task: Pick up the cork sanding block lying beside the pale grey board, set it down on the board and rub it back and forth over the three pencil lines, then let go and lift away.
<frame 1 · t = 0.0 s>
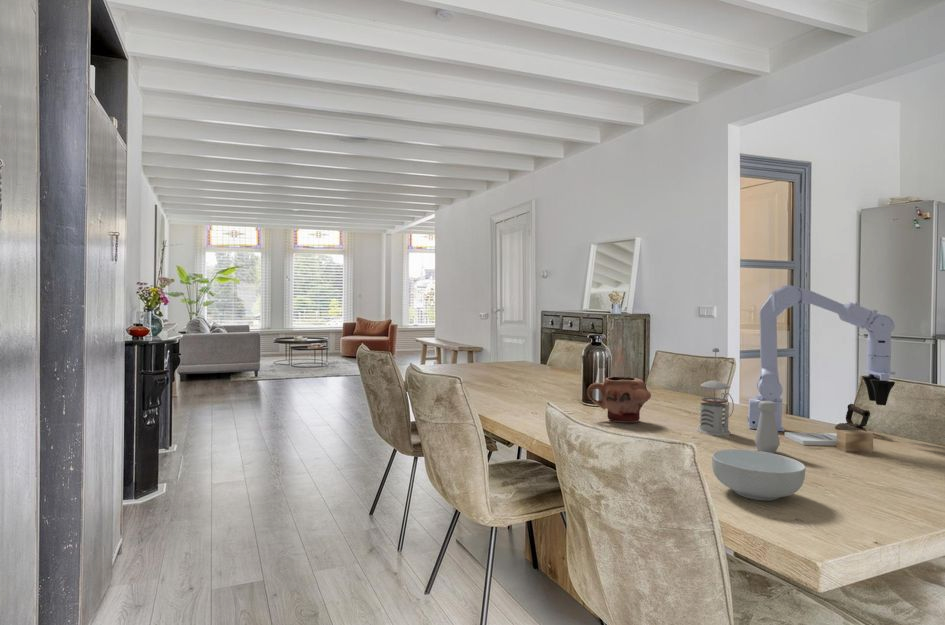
hand: (877, 402, 169), 10 cm above the table, tool pointing down, fingers open, 7 cm apart
cereal bowl: (756, 495, 117), on the table
board: (826, 441, 163), on the table
clothes iron: (856, 433, 175), on the table
salt shaker: (766, 452, 151), on the table
brown clay mug: (618, 421, 188), on the table
french press: (715, 433, 172), on the table
sanding block: (854, 450, 154), on the table
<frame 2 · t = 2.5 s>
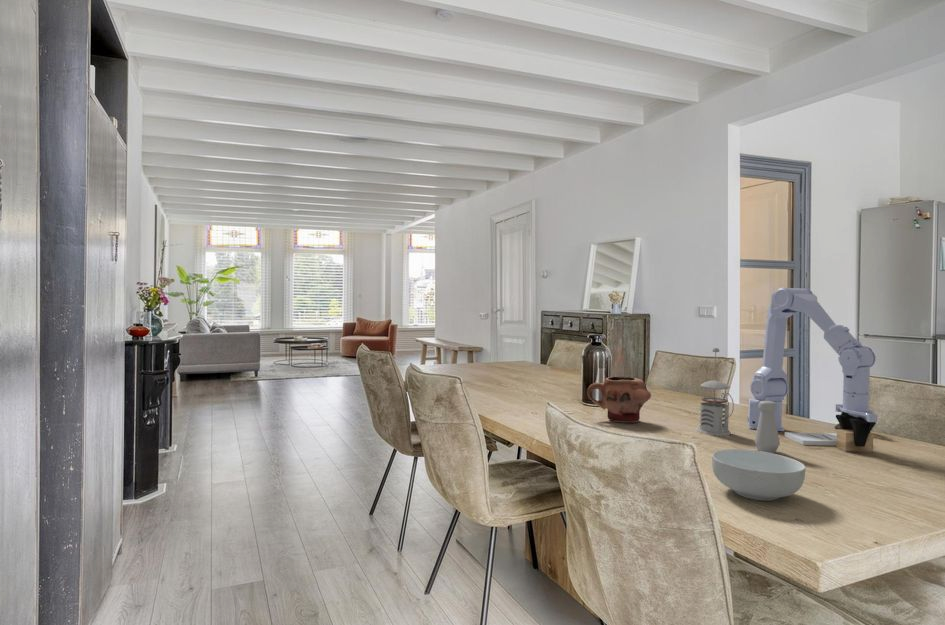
hand: (854, 444, 154), 2 cm above the table, tool pointing down, fingers closed on sanding block, 4 cm apart
sanding block: (854, 450, 154), on the table, touching gripper
everything else where it was.
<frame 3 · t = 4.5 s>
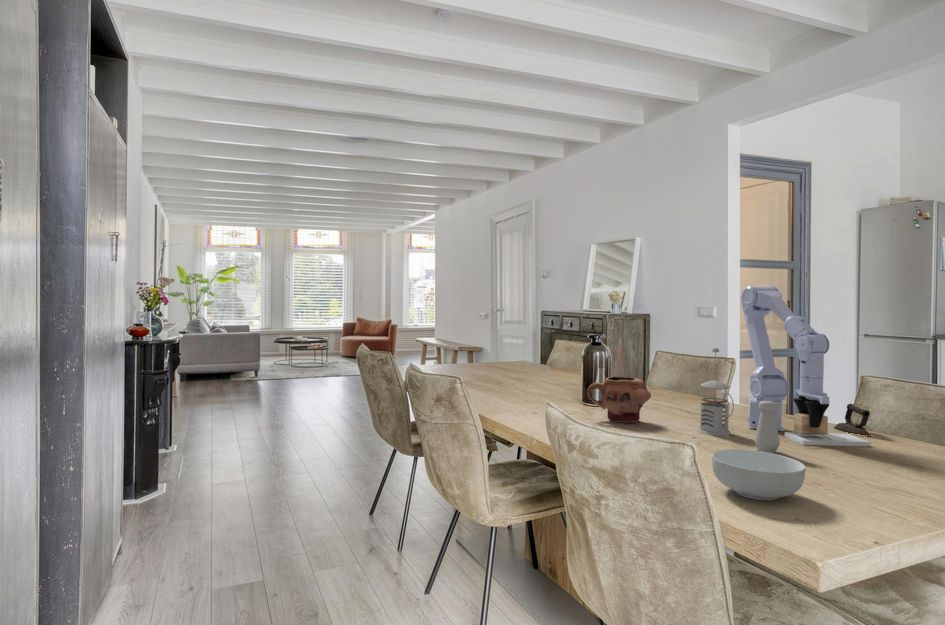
hand: (810, 425, 163), 4 cm above the table, tool pointing down, fingers closed on sanding block, 4 cm apart
sanding block: (810, 432, 163), point 2 cm above the table, touching gripper
everything else where it was.
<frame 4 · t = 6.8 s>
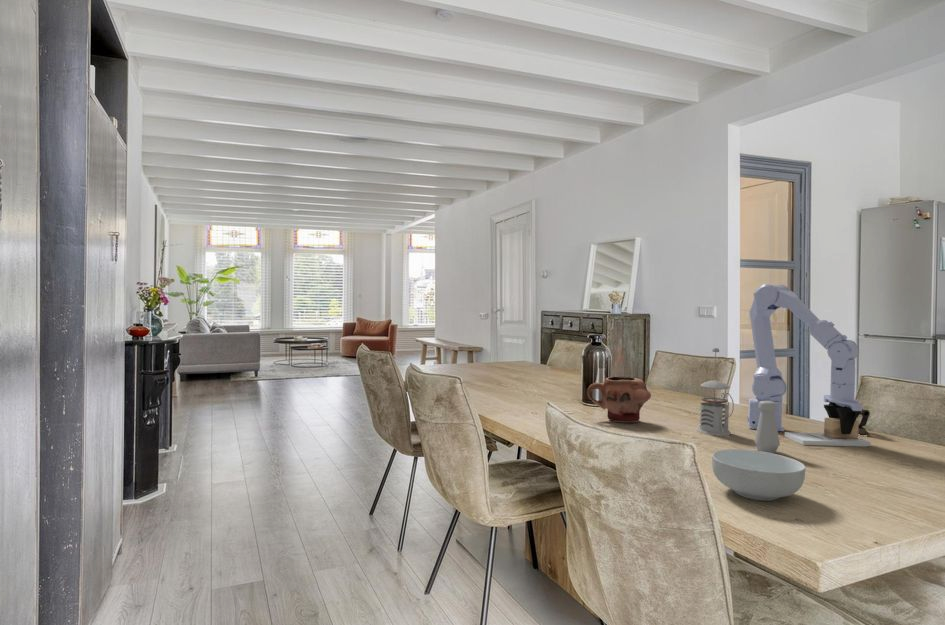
hand: (841, 432, 163), 3 cm above the table, tool pointing down, fingers closed on sanding block, 4 cm apart
sanding block: (840, 437, 163), point 1 cm above the table, touching gripper
everything else where it was.
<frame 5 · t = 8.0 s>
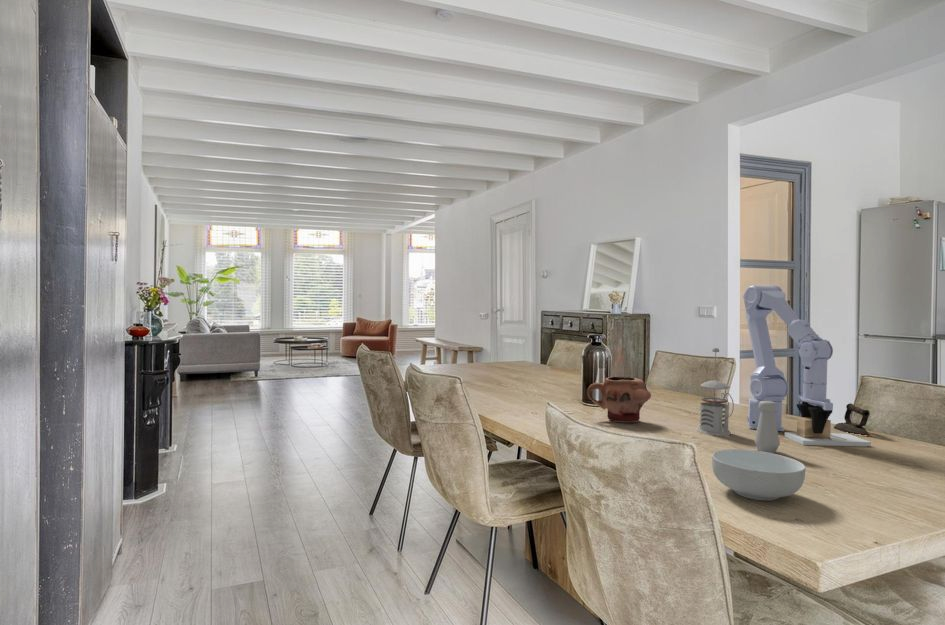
hand: (813, 431, 164), 3 cm above the table, tool pointing down, fingers closed on sanding block, 4 cm apart
sanding block: (813, 436, 164), point 1 cm above the table, touching gripper
everything else where it was.
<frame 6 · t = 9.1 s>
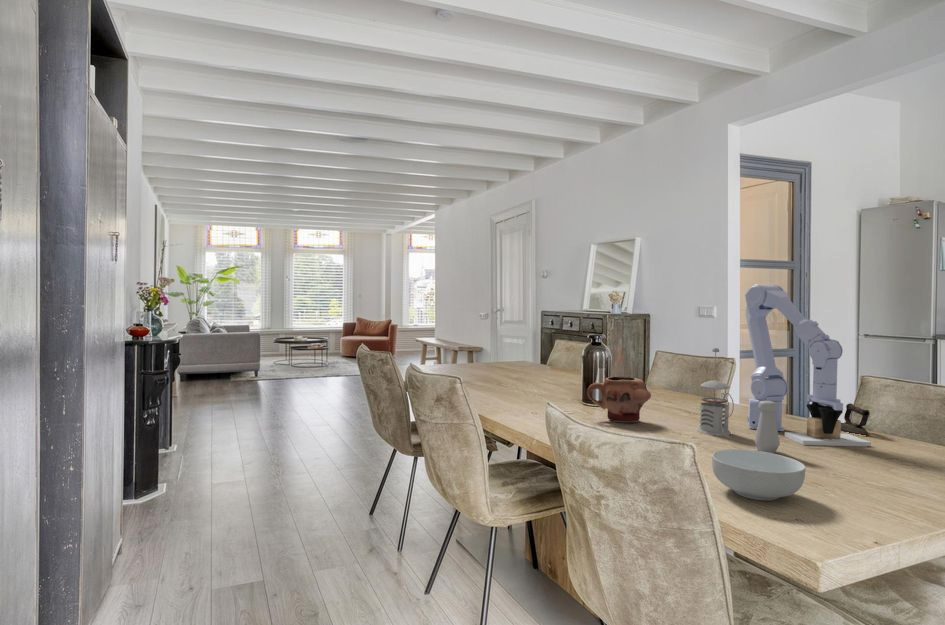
hand: (823, 431, 163), 3 cm above the table, tool pointing down, fingers closed on sanding block, 4 cm apart
sanding block: (823, 436, 163), point 1 cm above the table, touching gripper
everything else where it was.
when the fingers open (3 cm above the table, at t = 10.9 s): sanding block stays where it is, resting on board.
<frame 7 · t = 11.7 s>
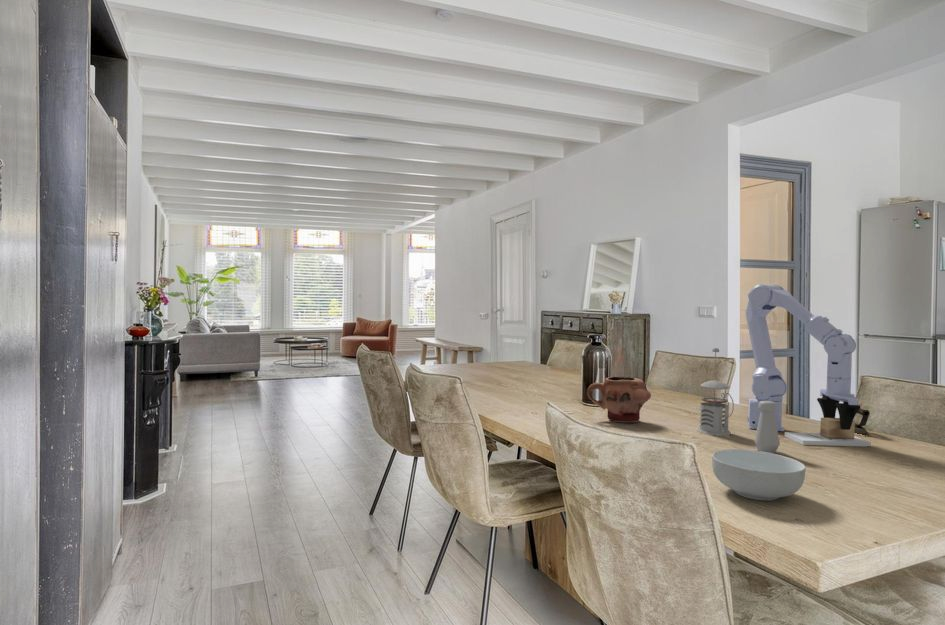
hand: (837, 426, 163), 4 cm above the table, tool pointing down, fingers open, 7 cm apart
sanding block: (837, 437, 163), point 1 cm above the table, touching board
everything else where it was.
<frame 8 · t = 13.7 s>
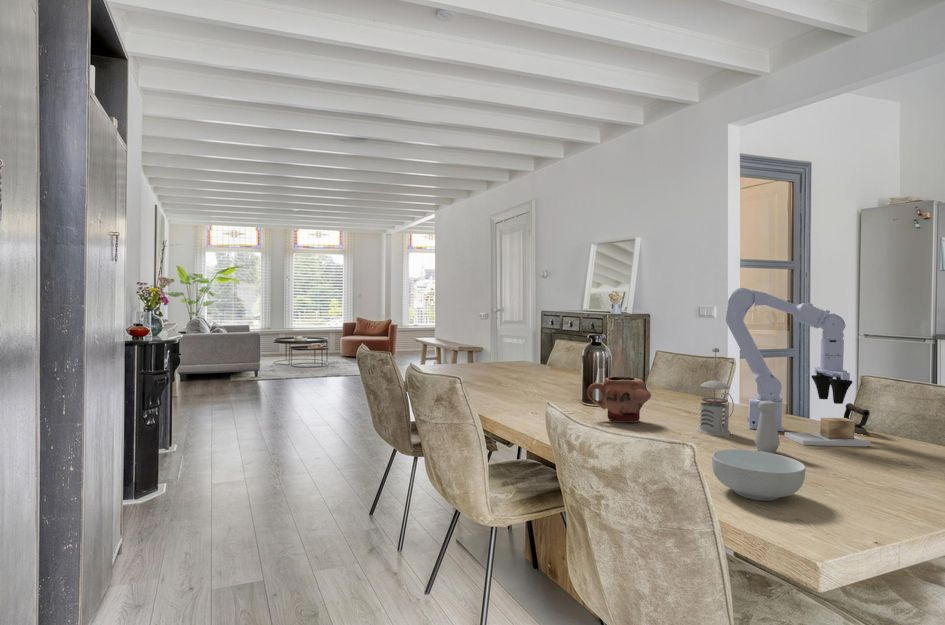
hand: (830, 401, 172), 10 cm above the table, tool pointing down, fingers open, 7 cm apart
at the end: sanding block inside the target area on the board (3.0 cm from its centre), point 1.2 cm above the board's base; sanding block moved 9.7 cm from its start; the gripper is holding nothing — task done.
